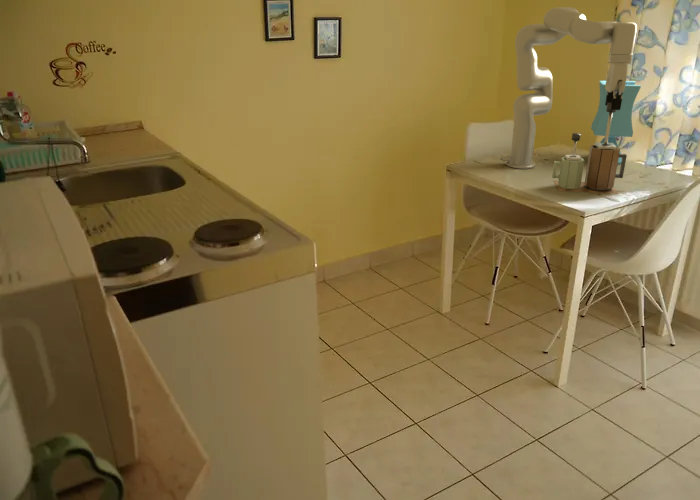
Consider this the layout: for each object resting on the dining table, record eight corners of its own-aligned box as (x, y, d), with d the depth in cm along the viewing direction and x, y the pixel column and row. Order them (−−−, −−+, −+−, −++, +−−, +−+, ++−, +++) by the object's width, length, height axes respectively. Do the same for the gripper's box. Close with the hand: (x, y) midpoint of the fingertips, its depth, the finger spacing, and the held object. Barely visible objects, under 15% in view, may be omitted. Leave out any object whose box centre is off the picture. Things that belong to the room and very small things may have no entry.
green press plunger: (566, 167, 223) (571, 134, 218) (564, 164, 227) (569, 132, 222) (578, 168, 222) (584, 135, 217) (577, 165, 226) (581, 132, 221)
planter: (627, 165, 260) (641, 85, 246) (590, 163, 264) (602, 84, 250) (621, 157, 274) (635, 81, 260) (586, 155, 278) (598, 80, 264)
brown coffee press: (587, 190, 222) (594, 147, 215) (582, 183, 231) (589, 141, 224) (623, 192, 220) (631, 148, 213) (617, 184, 229) (624, 142, 222)
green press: (552, 188, 225) (556, 158, 220) (550, 182, 232) (553, 153, 228) (581, 189, 223) (585, 159, 218) (577, 183, 230) (582, 154, 226)
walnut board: (557, 193, 223) (558, 190, 222) (553, 183, 235) (553, 180, 235) (618, 196, 219) (618, 193, 218) (610, 186, 231) (610, 183, 231)
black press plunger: (596, 159, 219) (605, 104, 210) (593, 155, 224) (602, 101, 216) (613, 159, 217) (622, 104, 209) (609, 156, 223) (619, 102, 215)
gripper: (604, 57, 215) (597, 103, 221) (614, 61, 199) (606, 111, 206) (625, 57, 213) (617, 104, 220) (637, 61, 198) (629, 111, 204)
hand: (612, 107), depth 213 cm, fingers open, 9 cm apart
